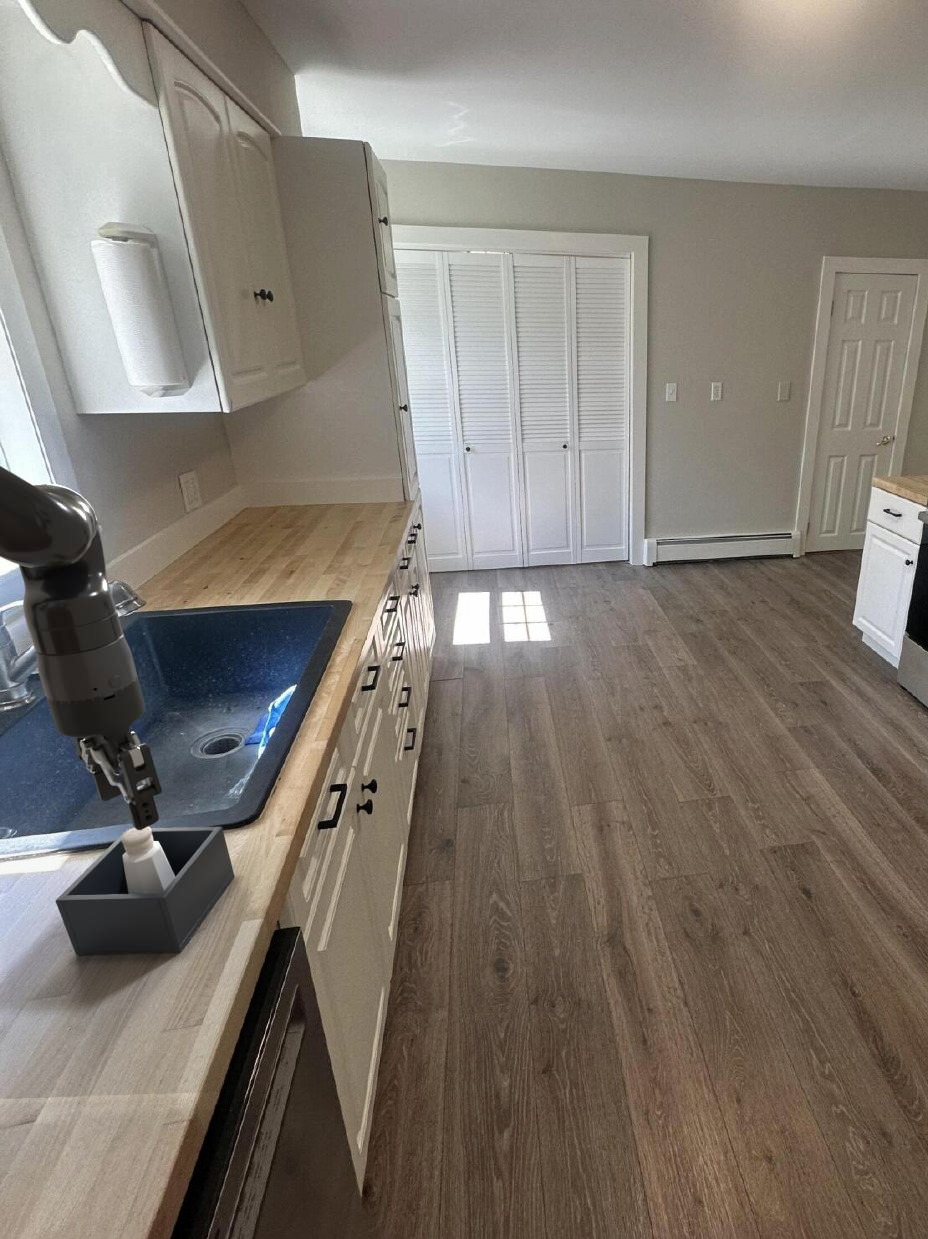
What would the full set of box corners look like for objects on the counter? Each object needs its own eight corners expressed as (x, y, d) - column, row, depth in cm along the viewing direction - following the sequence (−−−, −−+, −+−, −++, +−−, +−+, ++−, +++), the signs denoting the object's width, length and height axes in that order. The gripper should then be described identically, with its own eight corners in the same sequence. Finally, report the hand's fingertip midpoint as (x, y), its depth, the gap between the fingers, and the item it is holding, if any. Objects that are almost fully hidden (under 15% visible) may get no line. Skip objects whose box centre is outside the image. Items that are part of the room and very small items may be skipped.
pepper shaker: (140, 897, 79) (115, 822, 76) (191, 886, 81) (170, 812, 77) (124, 932, 75) (97, 854, 71) (179, 919, 76) (156, 842, 72)
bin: (75, 955, 73) (54, 900, 70) (143, 878, 83) (127, 828, 81) (181, 952, 73) (164, 897, 70) (235, 876, 84) (222, 826, 81)
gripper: (20, 676, 69) (63, 805, 74) (76, 716, 61) (118, 856, 67) (105, 651, 75) (138, 772, 80) (164, 685, 67) (197, 816, 73)
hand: (129, 810), depth 74 cm, fingers open, 8 cm apart
